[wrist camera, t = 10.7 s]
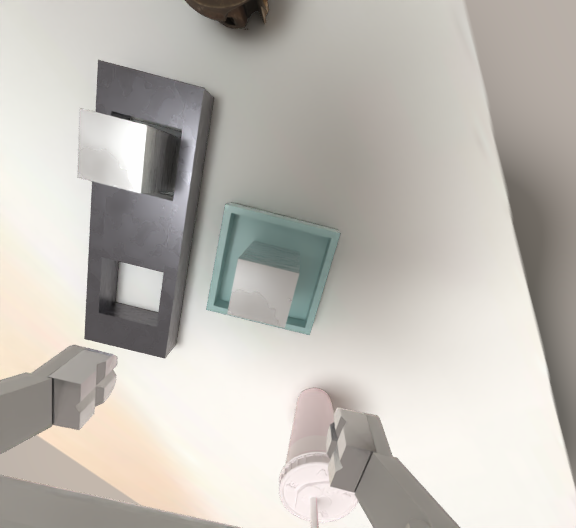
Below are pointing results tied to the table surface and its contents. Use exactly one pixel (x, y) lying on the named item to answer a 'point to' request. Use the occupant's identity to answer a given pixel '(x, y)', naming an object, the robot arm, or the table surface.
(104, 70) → the rack rail
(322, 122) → the table surface
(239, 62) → the table surface
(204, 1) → the industrial component
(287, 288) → the pale grey matte cube
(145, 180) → the white glossy cube
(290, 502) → the smoothie
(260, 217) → the tray
